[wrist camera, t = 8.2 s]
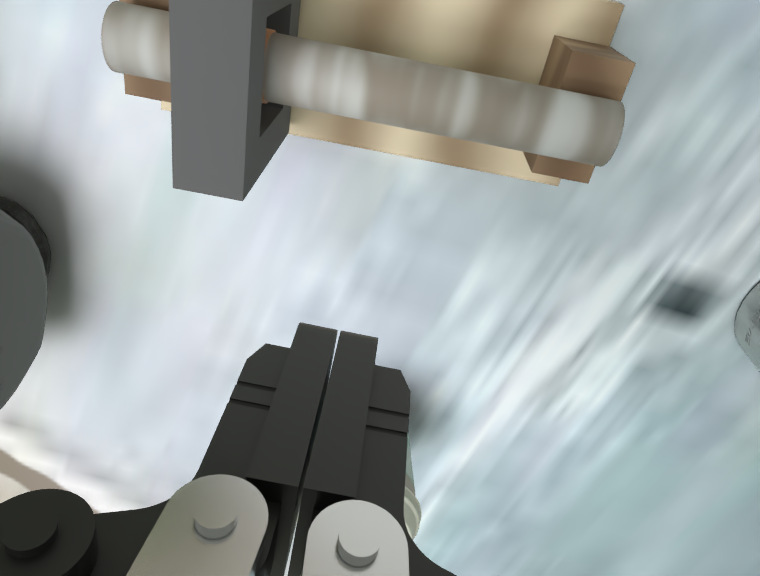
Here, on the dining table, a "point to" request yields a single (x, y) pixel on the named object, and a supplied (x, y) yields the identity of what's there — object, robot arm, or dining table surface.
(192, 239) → the dining table surface
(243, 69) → the collar
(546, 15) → the pipe rig
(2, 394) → the dark grey bottle
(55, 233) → the dining table surface
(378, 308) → the dining table surface
